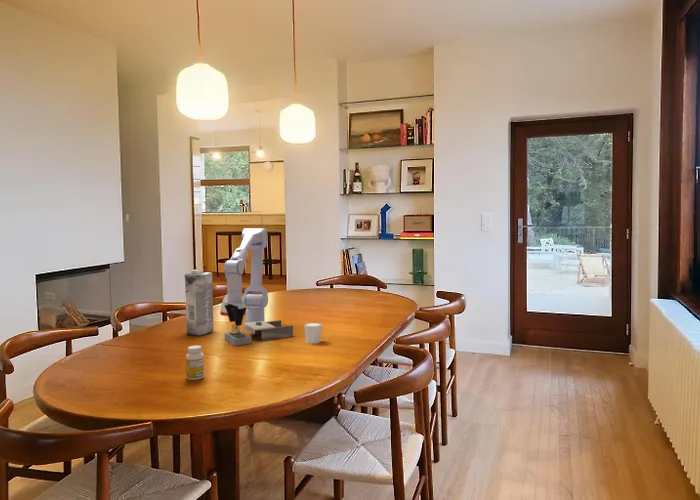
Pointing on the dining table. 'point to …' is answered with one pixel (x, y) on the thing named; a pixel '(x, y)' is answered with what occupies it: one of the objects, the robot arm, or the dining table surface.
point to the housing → (275, 331)
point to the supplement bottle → (194, 363)
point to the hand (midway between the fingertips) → (235, 323)
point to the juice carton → (199, 302)
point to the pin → (235, 330)
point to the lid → (257, 326)
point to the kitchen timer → (223, 309)
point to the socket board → (238, 338)
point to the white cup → (313, 333)
